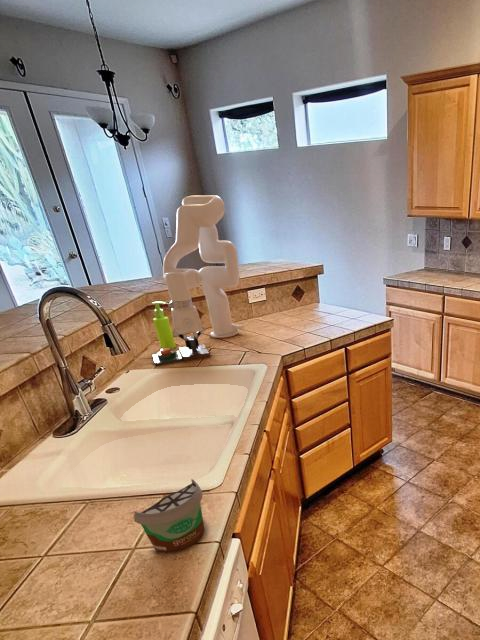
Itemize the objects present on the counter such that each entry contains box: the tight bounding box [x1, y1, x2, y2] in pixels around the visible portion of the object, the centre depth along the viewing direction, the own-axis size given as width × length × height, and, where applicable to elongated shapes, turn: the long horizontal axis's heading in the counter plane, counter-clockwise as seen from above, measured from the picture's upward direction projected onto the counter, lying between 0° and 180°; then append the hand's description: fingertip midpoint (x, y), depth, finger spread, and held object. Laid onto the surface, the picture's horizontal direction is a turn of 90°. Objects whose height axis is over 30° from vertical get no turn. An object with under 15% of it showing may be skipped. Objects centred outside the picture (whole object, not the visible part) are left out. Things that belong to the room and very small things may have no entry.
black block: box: [187, 336, 197, 352], centre depth 180 cm, size 5×2×5 cm, turn 33°
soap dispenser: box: [151, 301, 177, 350], centre depth 187 cm, size 6×7×20 cm
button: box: [159, 348, 171, 354], centre depth 176 cm, size 4×4×2 cm
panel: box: [178, 344, 211, 362], centre depth 181 cm, size 10×14×2 cm
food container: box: [133, 478, 205, 554], centre depth 80 cm, size 12×6×10 cm, turn 148°
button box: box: [152, 349, 184, 367], centre depth 176 cm, size 10×12×3 cm
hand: (193, 348), depth 181 cm, fingers closed on black block, 2 cm apart
